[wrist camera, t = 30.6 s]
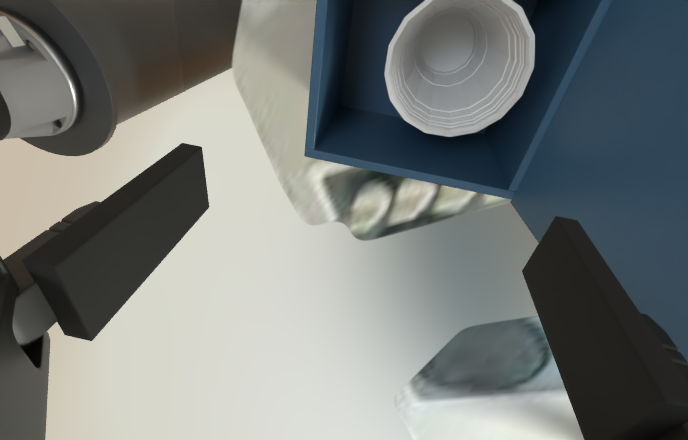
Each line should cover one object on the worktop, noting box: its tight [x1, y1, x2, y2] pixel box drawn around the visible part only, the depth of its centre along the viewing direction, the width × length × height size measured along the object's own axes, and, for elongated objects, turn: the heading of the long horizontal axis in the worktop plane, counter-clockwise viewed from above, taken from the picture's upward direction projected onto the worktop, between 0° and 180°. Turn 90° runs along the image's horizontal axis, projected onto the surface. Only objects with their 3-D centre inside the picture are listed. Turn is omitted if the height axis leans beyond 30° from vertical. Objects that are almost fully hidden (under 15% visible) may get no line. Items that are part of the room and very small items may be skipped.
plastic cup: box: [384, 0, 535, 137], centre depth 31 cm, size 11×11×12 cm
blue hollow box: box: [305, 0, 613, 199], centre depth 31 cm, size 19×18×14 cm
